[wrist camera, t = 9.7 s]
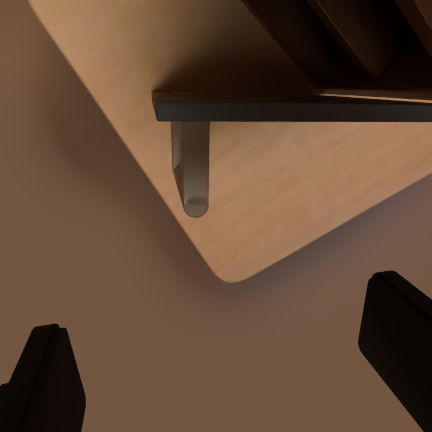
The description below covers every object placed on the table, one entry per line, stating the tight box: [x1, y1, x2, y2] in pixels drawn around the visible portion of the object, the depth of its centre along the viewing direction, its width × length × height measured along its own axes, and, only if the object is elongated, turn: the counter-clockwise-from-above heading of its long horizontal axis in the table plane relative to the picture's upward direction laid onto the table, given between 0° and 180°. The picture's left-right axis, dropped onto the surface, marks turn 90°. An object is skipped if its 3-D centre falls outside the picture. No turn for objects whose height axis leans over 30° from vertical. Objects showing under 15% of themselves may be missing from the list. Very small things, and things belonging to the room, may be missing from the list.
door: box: [152, 92, 432, 218], centre depth 23 cm, size 6×15×16 cm, turn 89°
